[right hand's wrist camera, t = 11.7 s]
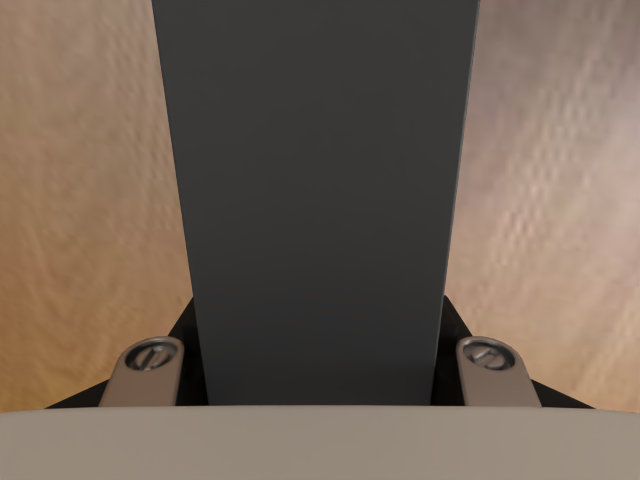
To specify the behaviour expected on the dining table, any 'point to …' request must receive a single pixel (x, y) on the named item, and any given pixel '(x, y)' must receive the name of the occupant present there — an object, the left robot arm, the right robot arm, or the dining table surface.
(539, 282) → the dining table surface
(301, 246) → the post
